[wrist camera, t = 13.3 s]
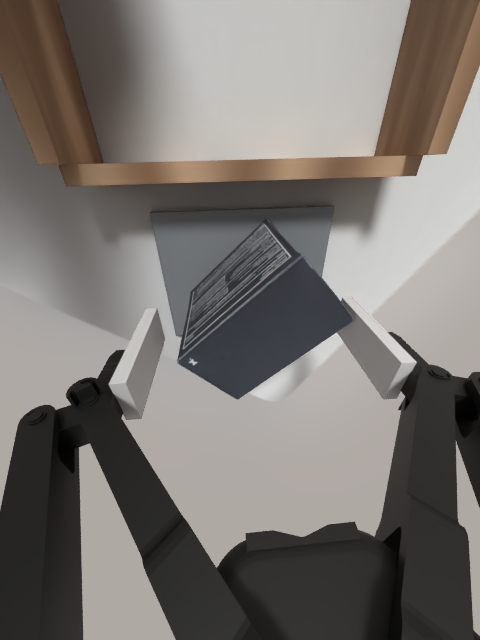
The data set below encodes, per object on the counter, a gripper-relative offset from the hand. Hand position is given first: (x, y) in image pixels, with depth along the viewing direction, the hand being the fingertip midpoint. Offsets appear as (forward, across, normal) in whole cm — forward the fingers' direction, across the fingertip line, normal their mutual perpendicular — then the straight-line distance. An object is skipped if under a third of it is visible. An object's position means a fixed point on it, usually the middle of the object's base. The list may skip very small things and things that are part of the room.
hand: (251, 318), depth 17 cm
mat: (+8, 0, -1) cm, 9 cm away
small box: (+8, 0, 0) cm, 8 cm away
